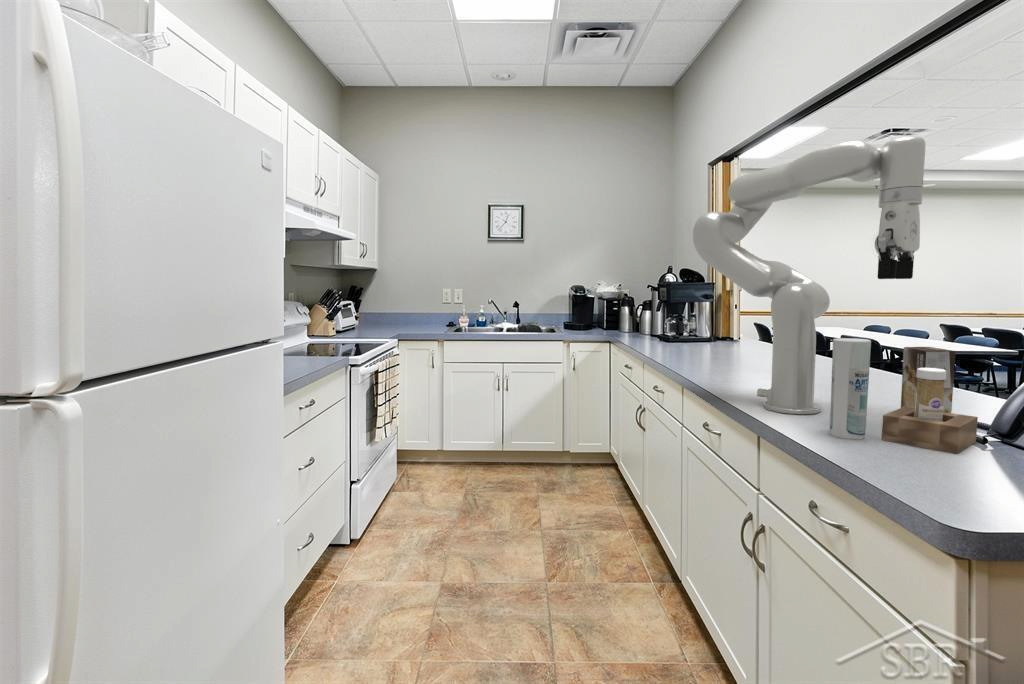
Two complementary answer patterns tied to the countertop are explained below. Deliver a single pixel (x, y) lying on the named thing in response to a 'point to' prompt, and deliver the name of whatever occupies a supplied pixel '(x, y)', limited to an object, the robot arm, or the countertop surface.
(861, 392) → the spray can
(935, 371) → the sprinkles bottle
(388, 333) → the countertop surface
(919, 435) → the bore block
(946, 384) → the coffee box
